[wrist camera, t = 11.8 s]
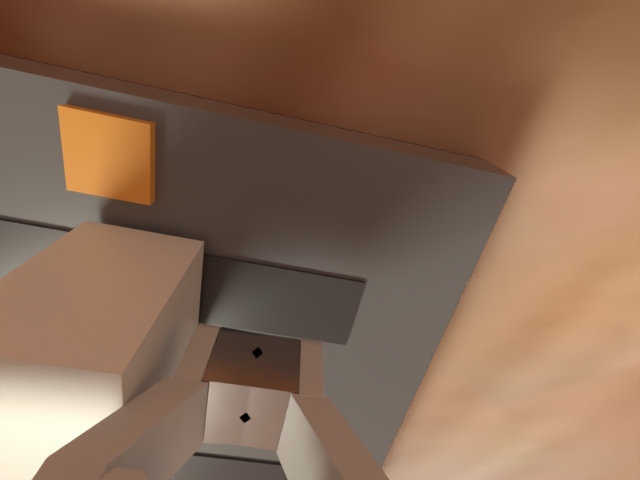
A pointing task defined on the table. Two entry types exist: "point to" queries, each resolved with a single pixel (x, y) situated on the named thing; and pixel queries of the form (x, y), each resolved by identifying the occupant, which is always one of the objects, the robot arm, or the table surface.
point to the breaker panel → (259, 226)
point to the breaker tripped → (89, 333)
